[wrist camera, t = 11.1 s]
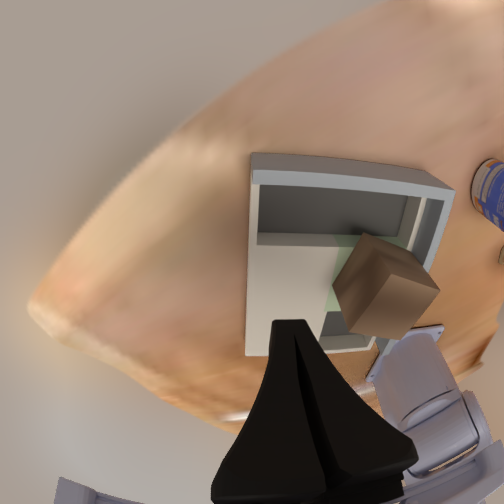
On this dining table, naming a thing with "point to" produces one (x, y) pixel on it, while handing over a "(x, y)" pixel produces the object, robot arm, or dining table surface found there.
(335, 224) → the board
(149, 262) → the dining table surface
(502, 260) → the grandmother figurine
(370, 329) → the walnut block
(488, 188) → the pill bottle
